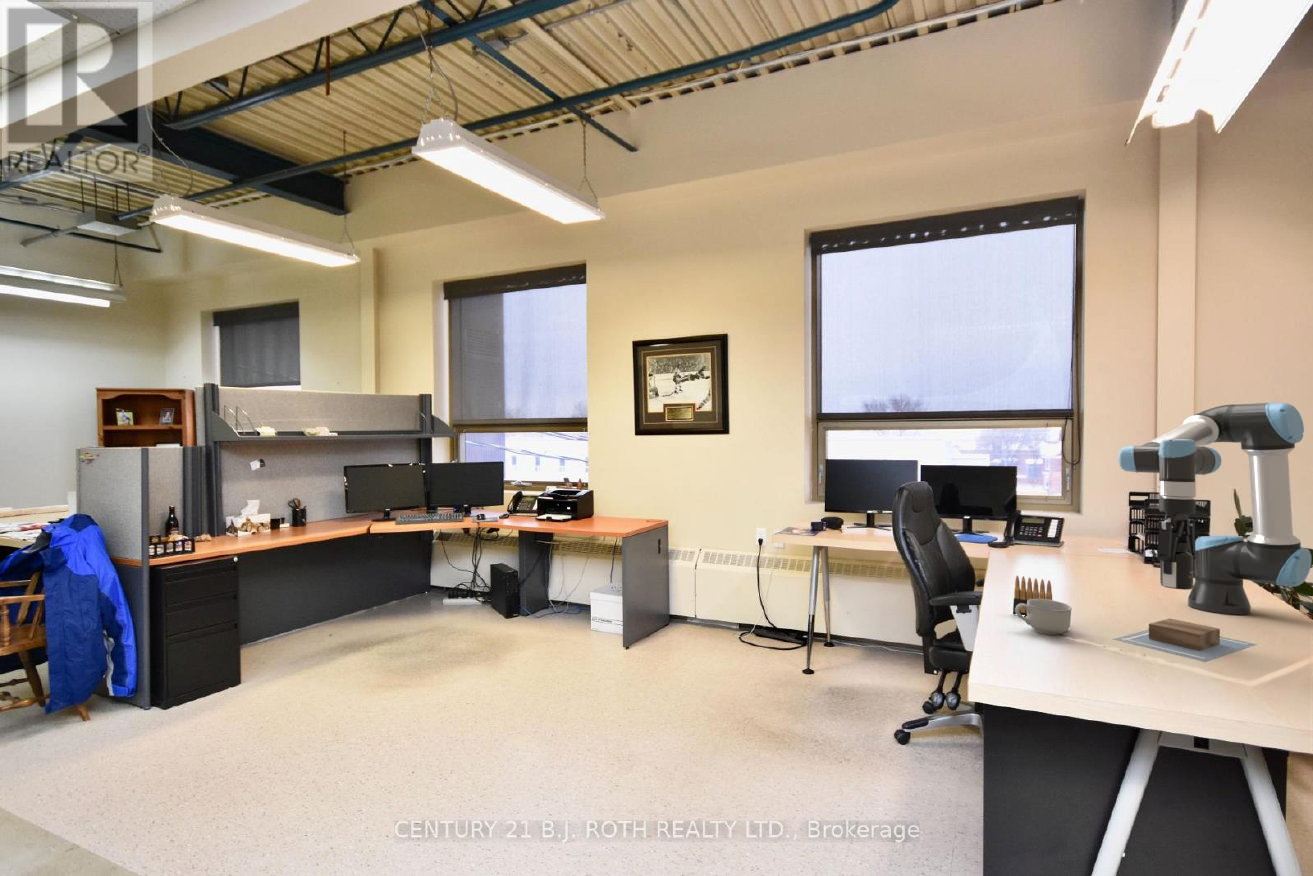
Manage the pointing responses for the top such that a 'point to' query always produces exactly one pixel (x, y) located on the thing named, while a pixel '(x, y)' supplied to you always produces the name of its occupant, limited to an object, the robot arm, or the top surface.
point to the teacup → (1046, 616)
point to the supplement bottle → (1181, 567)
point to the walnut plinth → (1184, 634)
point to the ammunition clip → (1029, 593)
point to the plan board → (1202, 655)
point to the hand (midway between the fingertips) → (1176, 585)
